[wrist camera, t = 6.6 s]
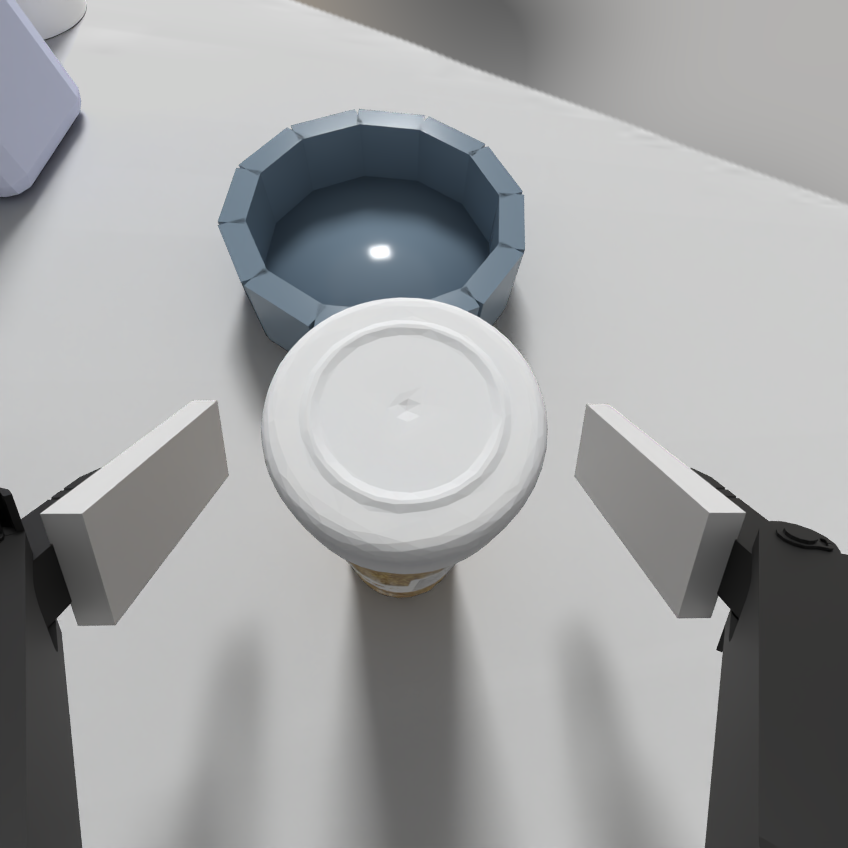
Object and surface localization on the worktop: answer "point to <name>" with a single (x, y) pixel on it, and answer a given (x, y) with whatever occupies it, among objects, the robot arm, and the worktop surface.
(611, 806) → the worktop surface
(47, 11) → the cup
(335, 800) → the worktop surface
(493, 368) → the sprinkles bottle
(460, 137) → the bowl
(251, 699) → the worktop surface
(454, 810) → the worktop surface
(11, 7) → the soap bottle
